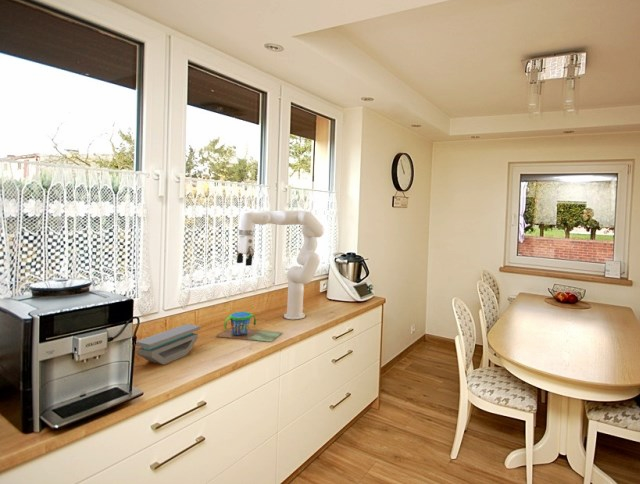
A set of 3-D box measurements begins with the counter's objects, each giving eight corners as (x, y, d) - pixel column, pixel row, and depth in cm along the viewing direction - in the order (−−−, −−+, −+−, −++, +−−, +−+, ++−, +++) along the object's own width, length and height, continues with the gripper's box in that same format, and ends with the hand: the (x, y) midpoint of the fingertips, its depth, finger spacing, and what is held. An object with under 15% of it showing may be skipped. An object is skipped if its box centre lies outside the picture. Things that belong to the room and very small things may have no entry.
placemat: (230, 328, 198) (230, 328, 198) (281, 333, 195) (281, 332, 195) (216, 337, 185) (216, 336, 185) (270, 342, 182) (271, 341, 182)
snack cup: (253, 328, 199) (254, 310, 199) (257, 334, 190) (258, 315, 190) (222, 332, 190) (223, 313, 190) (225, 338, 182) (226, 319, 181)
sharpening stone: (148, 371, 144) (149, 344, 144) (133, 367, 147) (134, 341, 146) (199, 349, 168) (200, 326, 168) (185, 346, 171) (187, 323, 170)
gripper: (260, 234, 195) (258, 266, 195) (245, 231, 206) (242, 261, 206) (247, 234, 189) (245, 267, 189) (232, 231, 200) (229, 262, 200)
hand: (244, 264), depth 198 cm, fingers open, 9 cm apart
